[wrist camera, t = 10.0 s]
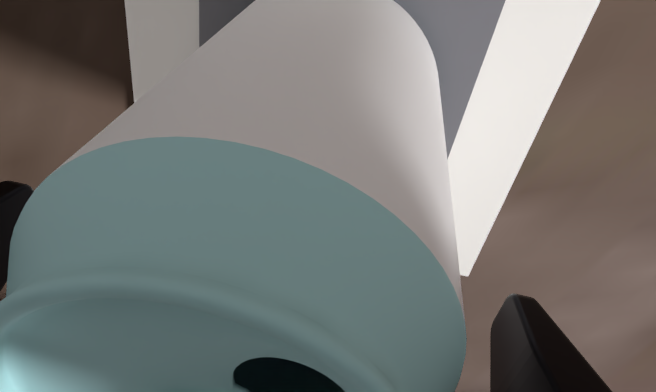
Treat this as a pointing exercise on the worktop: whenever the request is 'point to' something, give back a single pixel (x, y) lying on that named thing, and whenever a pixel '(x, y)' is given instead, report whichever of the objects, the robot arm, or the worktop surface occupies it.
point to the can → (252, 223)
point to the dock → (453, 71)
